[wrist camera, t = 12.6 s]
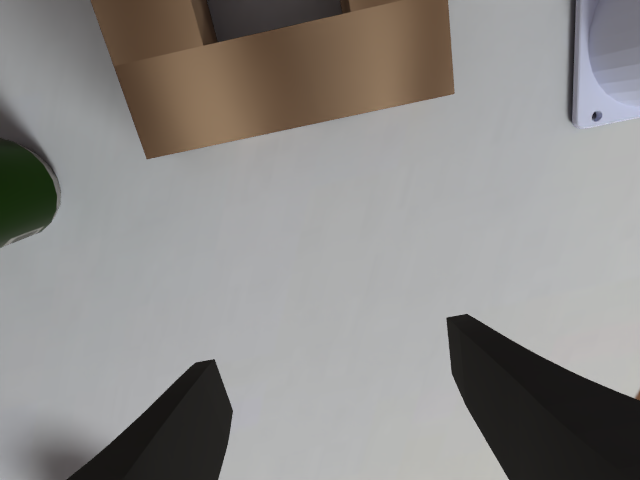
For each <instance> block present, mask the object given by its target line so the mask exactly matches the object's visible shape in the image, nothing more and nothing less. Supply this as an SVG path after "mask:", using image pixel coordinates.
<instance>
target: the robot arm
mask: <svg viewBox="0 0 640 480" xmlns="http://www.w3.org/2000/svg"><path fill="white" fill-rule="evenodd" d="M594 112H596V118H595V119H594V121H593V120H592V114H593V113H594ZM639 117H640V0H576V18H575V50H574V82H573V113H572V122H573V125H574V126H575V127H576V128H590V127H595V126H600V125H605V124H610V123H615V122H620V121H625V120H629V119H634V118H639ZM447 328H448V339H449V349H450V360H451V370H452V375H453V377H454V380H455V382H456V384H457V387H458V389H459V391H460V393H461V396H462V398H463V400H464V402H465V405H466V406H467V408H468V410H469V412H470V414H471V415H472V417H473V419H474V420H475V422H476V424H477V426H478V427H479V429H480V431H481V433H482V434H483V436H484V438H485V439H486V441H487V443H488V444H489V446H490V448H491V450H492V451H493V453H494V455H495V456H496V458H497V460H498V462H499V463H500V465H501V467H502V468H503V470H504V472H505V473H506V475H507V477H508V479H509V480H640V401H639V400H637V399H634V398H632V397H629V396H627V395H624V394H621V393H619V392H616V391H614V390H612V389H609V388H607V387H605V386H602V385H600V384H598V383H595V382H593V381H591V380H588V379H586V378H584V377H582V376H579V375H577V374H575V373H573V372H571V371H569V370H567V369H565V368H563V367H561V366H559V365H557V364H555V363H553V362H551V361H549V360H547V359H545V358H543V357H541V356H539V355H537V354H535V353H533V352H532V351H530V350H528V349H526V348H524V347H522V346H521V345H519V344H517V343H515V342H514V341H512V340H510V339H508V338H507V337H505V336H503V335H502V334H500V333H498V332H497V331H495V330H493V329H492V328H490V327H488V326H487V325H485V324H483V323H482V322H480V321H478V320H477V319H475V318H473V317H471V316H470V315H468V314H464V315H459V316H453V317H447ZM232 413H233V409H232V407H231V404H230V401H229V398H228V396H227V393H226V390H225V387H224V384H223V382H222V379H221V376H220V373H219V370H218V368H217V365H216V362H215V359H213V360H207V361H202V362H196V363H195V364H194V365H192V366H191V367H190V368H189V369H188V370H187V371H186V372H185V373H184V374H183V375H182V376H181V377H179V378H178V379H177V380H176V381H175V382H174V383H173V384H172V385H171V386H170V387H169V388H168V389H167V390H166V391H165V392H164V393H163V394H162V395H161V396H160V397H159V398H158V399H157V400H156V401H155V402H154V403H153V404H152V405H151V406H150V407H149V408H148V409H147V410H146V411H145V412H144V413H143V414H142V415H141V416H140V417H139V418H137V419H136V420H135V421H134V422H133V423H132V424H131V425H130V426H129V427H128V428H127V429H126V430H124V431H123V432H122V433H121V434H120V435H119V436H118V437H117V438H116V439H115V440H114V441H112V442H111V443H110V444H109V445H108V446H107V447H106V448H105V449H103V450H102V451H101V452H100V453H99V454H98V455H96V456H95V457H94V458H93V459H92V460H90V461H89V462H88V463H87V464H85V465H84V466H83V467H82V468H80V469H79V470H78V471H77V472H76V473H74V474H73V475H72V476H71V477H69V478H68V479H67V480H218V478H219V474H220V471H221V467H222V463H223V460H224V456H225V453H226V449H227V445H228V440H229V434H230V427H231V420H232Z"/></svg>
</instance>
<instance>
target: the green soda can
mask: <svg viewBox="0 0 640 480" xmlns="http://www.w3.org/2000/svg"><path fill="white" fill-rule="evenodd" d="M60 200H61V191H60V187H59V183H58V180H57V178H56V176H55V174H54V173H53V171H52V169H51V168H50V166H49V165H48V164H47V163H46V162H45V161H44V160H43V159H42V158H41V157H40V156H39V155H38V154H36V153H34V152H33V151H31V150H29V149H27V148H26V147H24V146H22V145H20V144H17V143H15V142H13V141H9V140H5V139H2V138H0V248H1V247H4V246H6V245H9V244H11V243H14V242H16V241H19V240H21V239H24V238H26V237H29V236H32V235H34V234H37V233H39V232H41V231H42V230H44V229H45V228H46V227H47V226H48V225H49V224H50V223H51V222H52V220H53V219H54V217H55V215H56V213H57V211H58V209H59V206H60Z"/></svg>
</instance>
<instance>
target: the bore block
mask: <svg viewBox="0 0 640 480" xmlns="http://www.w3.org/2000/svg"><path fill="white" fill-rule="evenodd" d="M91 3H92V6H93V9H94V12H95V14H96V17H97V20H98V23H99V26H100V29H101V31H102V34H103V37H104V40H105V43H106V45H107V48H108V51H109V54H110V57H111V60H112V62H113V65H114V68H115V71H116V74H117V76H118V79H119V82H120V85H121V88H122V91H123V93H124V96H125V99H126V102H127V105H128V107H129V110H130V113H131V116H132V119H133V122H134V124H135V127H136V130H137V133H138V136H139V138H140V141H141V144H142V147H143V150H144V153H145V155H146V158H147V159H151V158H155V157H160V156H165V155H169V154H174V153H179V152H183V151H188V150H193V149H198V148H202V147H207V146H212V145H216V144H221V143H226V142H230V141H235V140H240V139H245V138H249V137H254V136H259V135H263V134H268V133H273V132H277V131H282V130H287V129H292V128H296V127H301V126H306V125H310V124H315V123H320V122H324V121H329V120H334V119H339V118H343V117H348V116H353V115H357V114H362V113H367V112H371V111H376V110H381V109H386V108H390V107H395V106H400V105H404V104H409V103H414V102H418V101H423V100H428V99H433V98H437V97H442V96H447V95H451V94H454V80H453V65H452V51H451V37H450V23H449V9H448V0H340V3H341V9H342V14H340V15H336V16H331V17H327V18H323V19H318V20H314V21H309V22H305V23H301V24H296V25H292V26H288V27H283V28H279V29H274V30H270V31H266V32H261V33H257V34H253V35H248V36H244V37H239V38H235V39H231V40H226V41H222V42H217V38H216V34H215V30H214V26H213V23H212V19H211V15H210V11H209V7H208V4H207V0H91Z"/></svg>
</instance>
